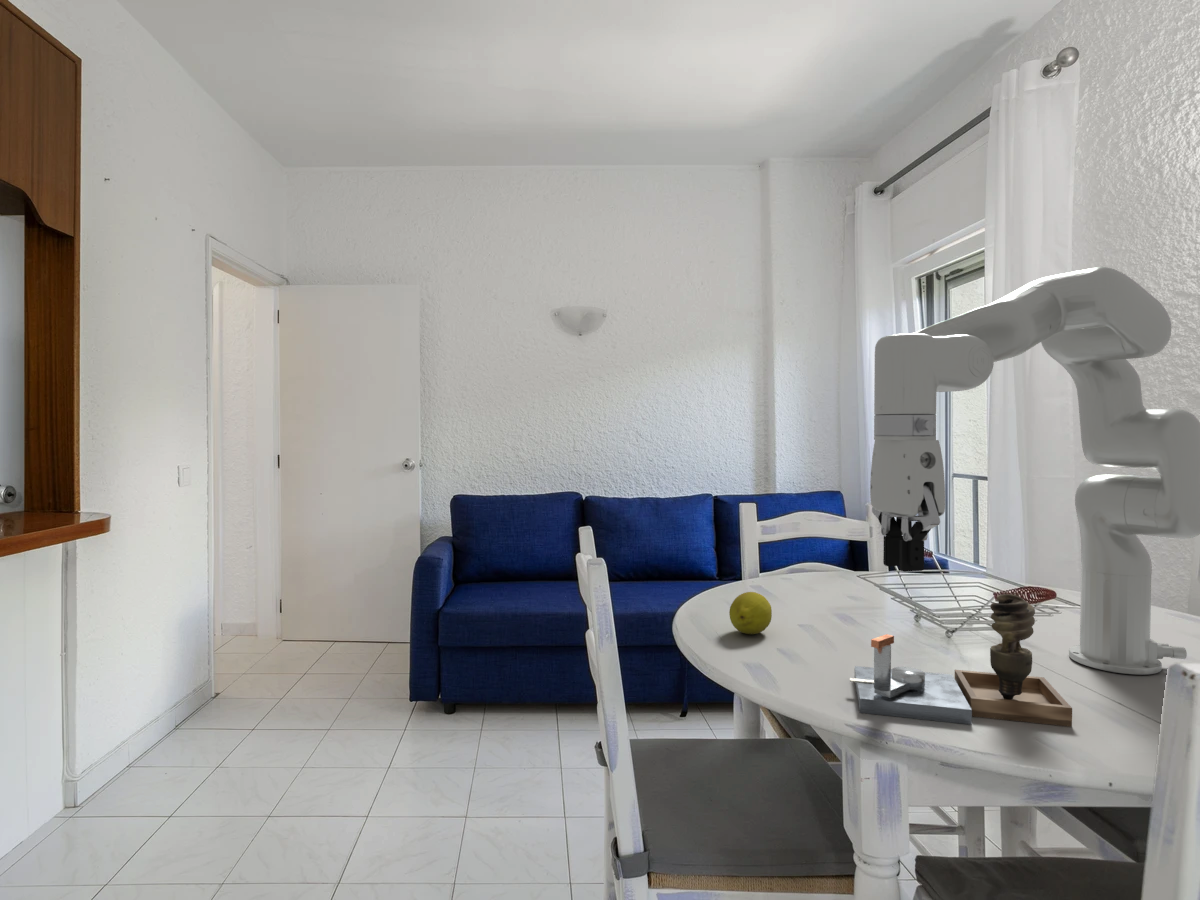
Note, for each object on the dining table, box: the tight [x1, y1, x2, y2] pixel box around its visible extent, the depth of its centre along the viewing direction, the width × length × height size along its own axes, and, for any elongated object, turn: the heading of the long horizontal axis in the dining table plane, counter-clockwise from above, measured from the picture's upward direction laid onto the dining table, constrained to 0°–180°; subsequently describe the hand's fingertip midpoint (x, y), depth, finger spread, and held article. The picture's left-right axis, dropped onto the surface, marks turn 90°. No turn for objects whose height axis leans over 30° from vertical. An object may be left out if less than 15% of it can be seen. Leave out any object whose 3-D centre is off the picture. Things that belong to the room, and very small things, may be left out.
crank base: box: [849, 665, 973, 726], centre depth 103 cm, size 15×14×2 cm
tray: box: [954, 669, 1073, 728], centre depth 100 cm, size 12×12×2 cm
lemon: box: [728, 591, 773, 635], centre depth 136 cm, size 11×8×8 cm
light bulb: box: [989, 593, 1036, 699], centre depth 100 cm, size 6×6×15 cm
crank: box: [870, 633, 925, 698], centre depth 100 cm, size 11×4×8 cm, turn 128°
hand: (903, 566), depth 93 cm, fingers open, 2 cm apart
